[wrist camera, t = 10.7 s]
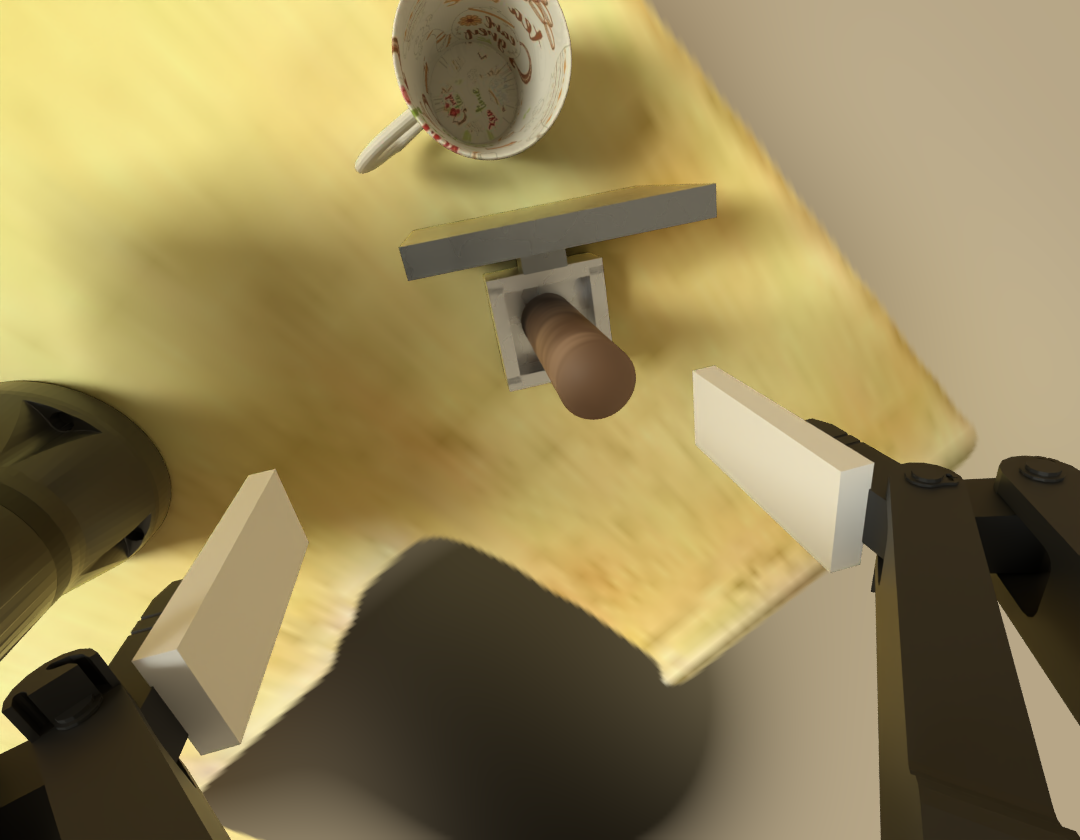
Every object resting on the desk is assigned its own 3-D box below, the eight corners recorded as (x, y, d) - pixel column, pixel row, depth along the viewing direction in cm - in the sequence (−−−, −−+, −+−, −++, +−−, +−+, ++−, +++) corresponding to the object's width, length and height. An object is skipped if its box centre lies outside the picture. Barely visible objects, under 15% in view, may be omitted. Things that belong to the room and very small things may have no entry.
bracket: (455, 387, 40) (458, 458, 30) (413, 230, 35) (398, 247, 25) (649, 343, 42) (721, 397, 31) (636, 185, 37) (715, 183, 26)
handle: (526, 351, 39) (564, 427, 26) (516, 299, 37) (552, 354, 25) (577, 339, 39) (639, 409, 27) (569, 287, 38) (631, 336, 25)
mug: (563, 115, 34) (605, 87, 25) (416, 233, 35) (405, 248, 26) (485, -19, 31) (501, -107, 22) (326, 119, 32) (278, 90, 23)
